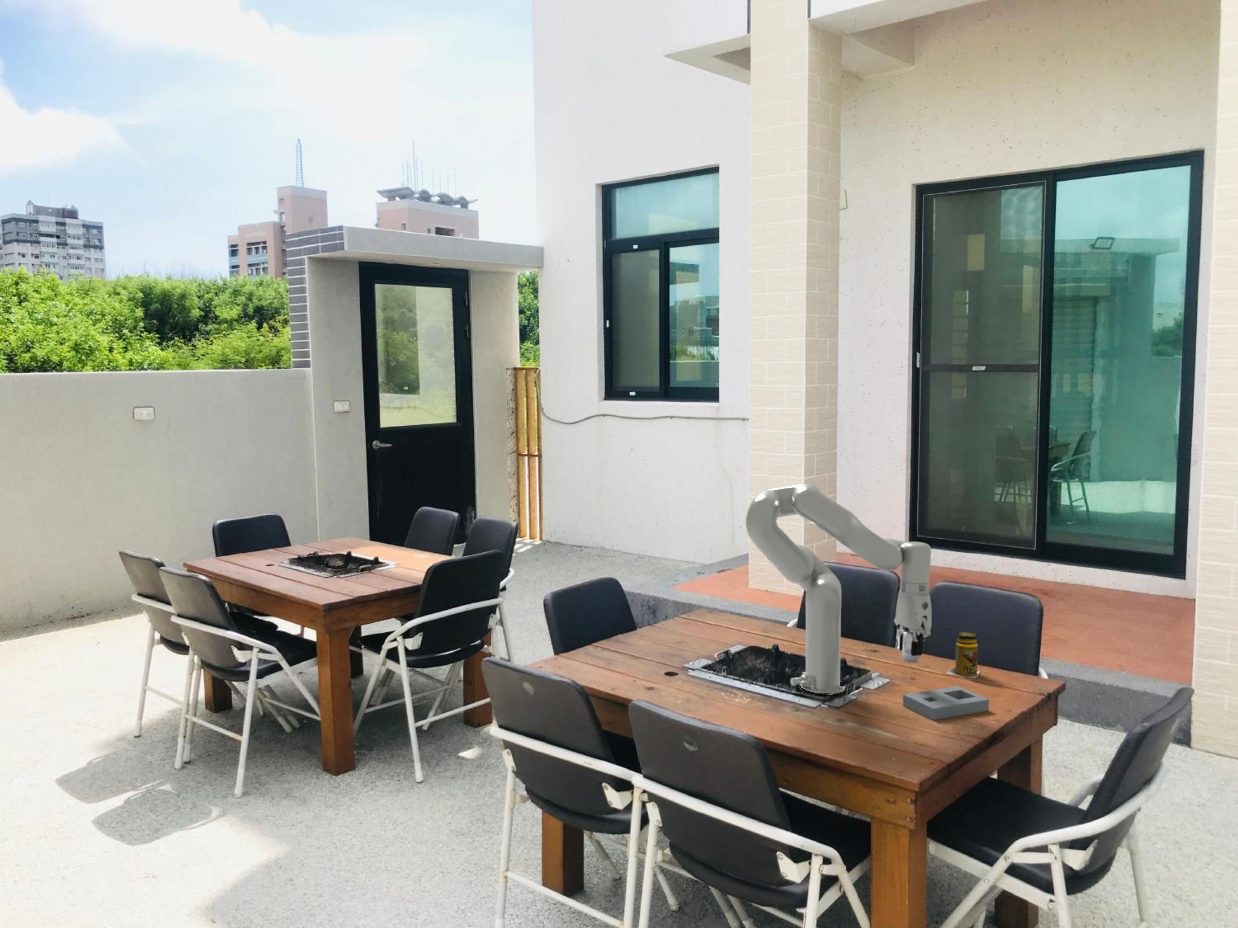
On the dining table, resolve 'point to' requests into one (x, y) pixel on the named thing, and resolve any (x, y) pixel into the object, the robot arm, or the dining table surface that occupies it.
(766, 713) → the dining table surface
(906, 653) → the cylinder
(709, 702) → the dining table surface
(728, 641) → the dining table surface
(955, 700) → the grey hole board
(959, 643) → the condiment
